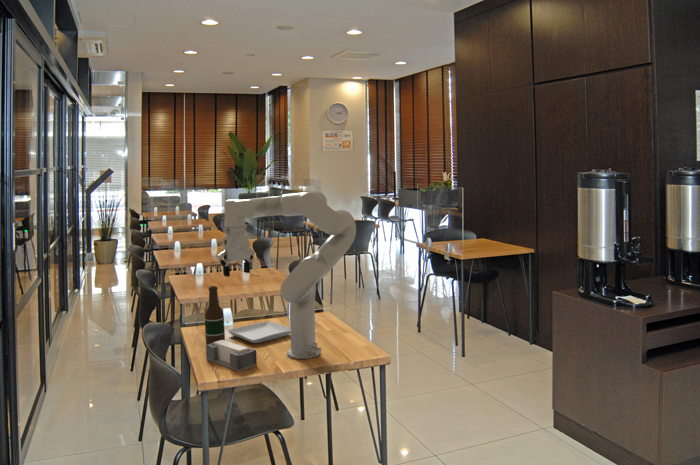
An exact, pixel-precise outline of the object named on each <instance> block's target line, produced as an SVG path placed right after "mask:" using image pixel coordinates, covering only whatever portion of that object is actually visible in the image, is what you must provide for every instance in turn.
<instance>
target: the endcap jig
mask: <svg viewBox="0 0 700 465" xmlns="http://www.w3.org/2000/svg"><path fill="white" fill-rule="evenodd" d="M247 348H248V352H245V353H242V354H237V353H234V352H232V353H230V363H228V362H225V361H222V360H219V359H217V347H216V346H214V343H212V344H208V345H206V344H205V353H206V360H207V361H210V362H212V363H215V364H219V365H221V366H223V367H226V368H229V369H232V370H234V371H237V372H240V371H244V370H247V369H250V368H253V367H256V366H257V364H258V363H257V362H258V361H257V350H256V349H253V348H250V347H247Z"/></svg>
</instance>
